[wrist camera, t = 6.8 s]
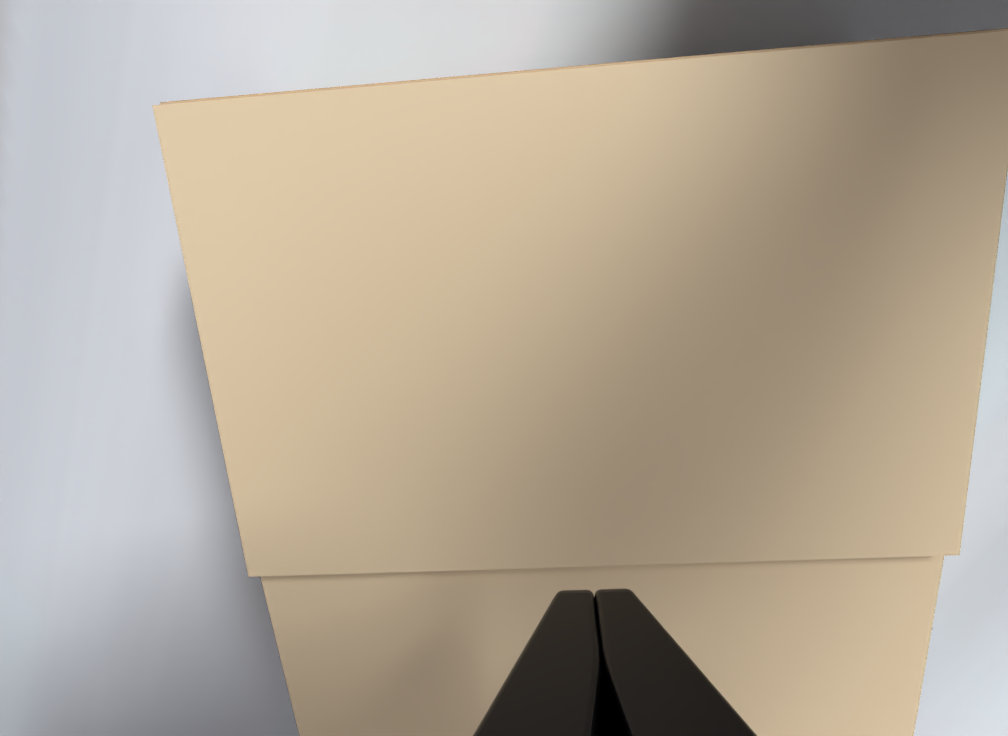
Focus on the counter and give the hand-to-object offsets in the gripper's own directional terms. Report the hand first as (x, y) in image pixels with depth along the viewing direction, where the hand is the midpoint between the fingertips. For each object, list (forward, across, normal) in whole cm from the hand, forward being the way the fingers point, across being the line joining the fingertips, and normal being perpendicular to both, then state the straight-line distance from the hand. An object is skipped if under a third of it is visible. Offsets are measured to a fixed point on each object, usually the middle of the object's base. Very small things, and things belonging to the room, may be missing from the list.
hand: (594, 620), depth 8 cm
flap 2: (+6, 0, +7) cm, 9 cm away
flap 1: (+6, 0, -2) cm, 6 cm away
